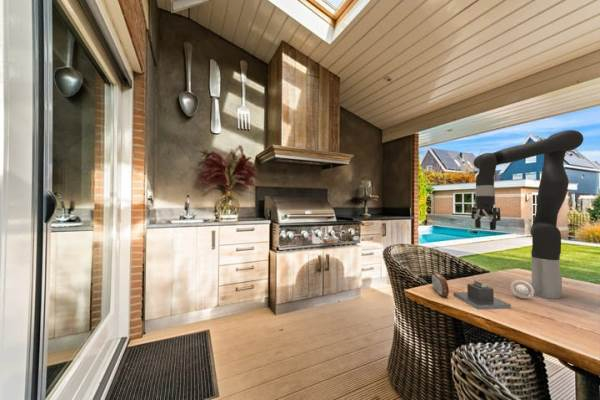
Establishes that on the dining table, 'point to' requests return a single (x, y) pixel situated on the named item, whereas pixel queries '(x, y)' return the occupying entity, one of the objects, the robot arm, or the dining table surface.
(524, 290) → the ring around a ball
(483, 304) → the shaft base
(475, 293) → the dark grey open box
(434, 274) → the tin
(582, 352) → the dining table surface
